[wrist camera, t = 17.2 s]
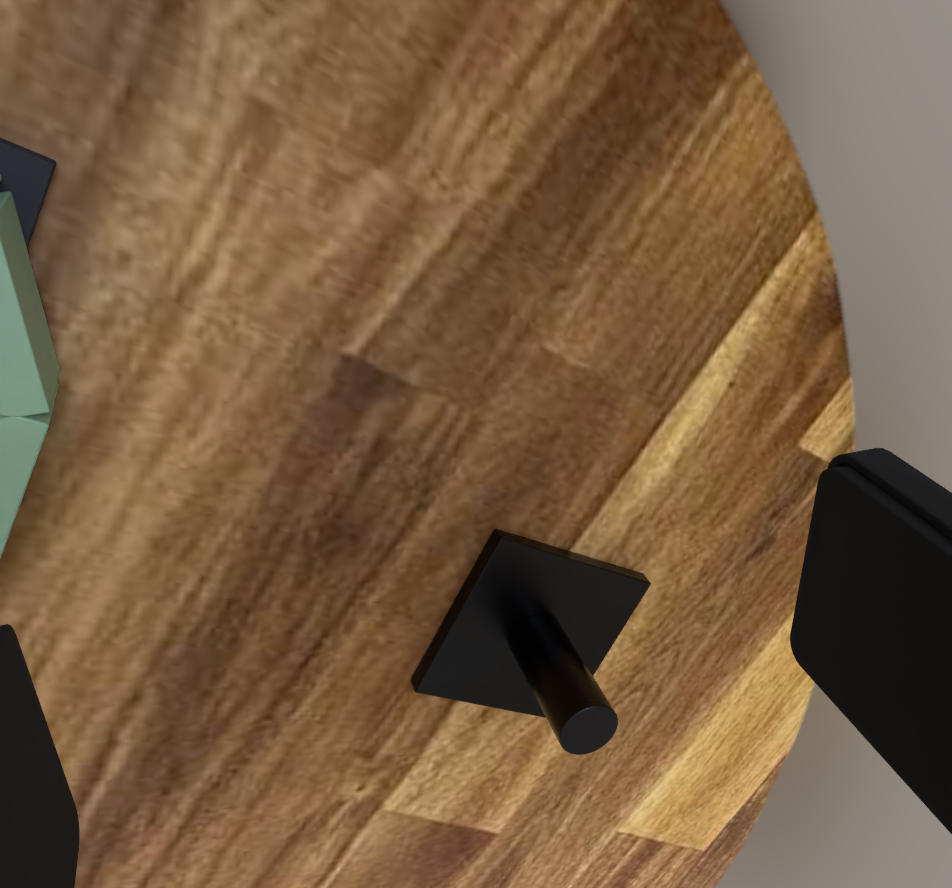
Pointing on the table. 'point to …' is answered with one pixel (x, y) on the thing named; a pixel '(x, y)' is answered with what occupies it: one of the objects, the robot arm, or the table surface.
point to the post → (534, 637)
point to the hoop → (21, 368)
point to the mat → (25, 182)
